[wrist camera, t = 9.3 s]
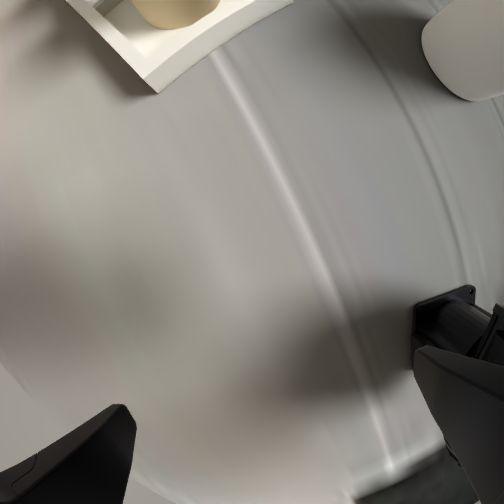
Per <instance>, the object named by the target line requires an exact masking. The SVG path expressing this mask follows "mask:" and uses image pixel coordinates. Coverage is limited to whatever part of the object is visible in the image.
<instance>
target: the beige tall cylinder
mask: <svg viewBox="0 0 504 504" xmlns="http://www.w3.org/2000/svg"><path fill="white" fill-rule="evenodd" d="M131 2H132V3H133V4H134V6H135V7H136V9H137V10H138V11H139V13H140V14H141V15H142V17H143V18H144V20H145V21H146V22H147V23H148V24H149V25H151V26H153V27H156V28H159V29H179V28H184V27H187V26H190V25H193V24H194V23H196V22H197V21H199V20H200V19H202V18H203V17H205V16H206V15H208V14H209V13H211V12H213V11H214V10H215V9H216V7H217V6H218V4H219V3H220V0H131Z"/></svg>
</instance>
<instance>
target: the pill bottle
mask: <svg viewBox="0 0 504 504" xmlns="http://www.w3.org/2000/svg"><path fill="white" fill-rule="evenodd" d="M421 42H422V48H423V52H424V55H425V57H426V59H427V61H428V63H429V65H430V67H431V69H432V70H433V72H434V73H435V75H436V76H437V77H438V78H439V80H440V81H441V82H442V83H443V84H444V85H445V86H446V87H447V88H448V89H449V90H450V91H452V92H453V93H454V94H456V95H457V96H459V97H461V98H463V99H466V100H469V101H483V100H487V99H490V98H493V97H496V96H499V95H503V94H504V0H452V1H451V2H450V3H449V4H448V5H447V6H446V7H444V8H443V9H442V10H441V11H440V12H439V13H438V14H436V15H435V16H434V17H433V18H432V19H431V20H430V21H429V22H428V23H427V24H426V25H425V27H424V29H423V31H422V37H421Z"/></svg>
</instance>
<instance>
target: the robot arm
mask: <svg viewBox="0 0 504 504" xmlns="http://www.w3.org/2000/svg"><path fill="white" fill-rule="evenodd" d="M470 290H471V291H470ZM475 293H476V289H475V287H474V286H472V285H468V286H465V287H463V288H460V289H458V290H455V291H452V292H450V293H447V294H444V295H442V296H439V297H436V298H433V299H431V300H428V301H425V302H422V303H419V304H417V305H416V306H415V307H414V309H413V332H412V334H411V360H412V370H413V371H414V377H415V380H416V382H417V384H418V386H419V388H420V390H421V392H422V394H423V397H424V399H425V401H426V403H427V405H428V408H429V410H430V412H431V414H432V416H433V417H434V419H435V421H436V423H437V424H438V426H439V428H440V429H441V431H442V433H443V436H444V440H445V444H446V447H447V449H448V452H449V454H450V456H451V457H453V458H454V459H455V460H456V461H457V462H458V465H459V466H460V467H462V468H463V469H464V471H465V473H466V475H467V477H468V479H469V481H470V482H471V484H472V486H473V488H474V490H475V492H476V494H477V496H478V498H479V500H480V502H481V504H504V306H502V305H499V304H497V303H496V304H495V306H494V309H493V311H494V312H493V314H490V313H488V312H487V311H485V310H483V309H482V308H480V307H479V306H477V305H475ZM419 309H421V311H420V312H418V311H419ZM136 430H137V426H136V422H135V420H134V419H133V417H132V415H131V414H130V412H129V410H128V408H127V407H126V406H125V405H124V404H112V405H111V406H109V407H108V408H106V409H105V410H103V411H102V412H100V413H99V414H97V415H96V416H94V417H93V418H91V419H90V420H88V421H87V422H85V423H84V424H82V425H81V426H79V427H77V428H76V429H74V430H73V431H71V432H70V433H68V434H67V435H65V436H63V437H62V438H60V439H59V440H57V441H56V442H54V443H52V444H51V445H49V446H47V447H46V448H44V449H43V450H41V451H39V452H38V454H37V453H36V454H34V455H33V456H31V457H29V458H28V459H26V460H24V461H22V462H21V463H19V464H17V465H15V466H13V467H11V468H9V469H6V470H4V471H2V472H0V504H123V500H124V496H125V491H126V487H127V482H128V478H129V474H130V470H131V465H132V459H133V451H134V444H135V437H136Z"/></svg>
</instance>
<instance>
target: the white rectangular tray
mask: <svg viewBox="0 0 504 504" xmlns="http://www.w3.org/2000/svg"><path fill="white" fill-rule="evenodd" d="M66 1H67V2H68V3H69V4H70V5H71V6H72V7H73V8H74V9H75V10H76V11H77V12H78V13H79V14H80V15H81V16H82V17H83V18H84V19H85V20H86V21H87V22H88V23H89V24H90V25H91V26H92V27H93V28H94V29H95V30H96V31H97V32H98V33H99V34H100V35H101V36H102V37H103V38H104V39H105V40H106V41H107V42H108V43H109V44H110V45H111V46H112V47H113V48H114V49H115V50H116V51H117V52H118V53H119V54H120V56H121V57H122V58H123V59H124V60H125V61H126V62H127V63H128V64H129V65H130V66H131V67H132V68H133V69H134V70H135V71H136V72H137V73H138V74H139V76H140V77H141V78H142V79H143V80H144V81H145V82H146V83H147V84H149V85H150V86H151V87H152V88H153V89H154V90H155V91H156V92H157V93H158V94H159V93H160V92H161V91H162V90H164V89H165V88H166V87H167V86H168V85H169V84H171V83H172V82H173V81H174V80H175V79H177V78H178V77H179V76H180V75H182V74H183V73H184V72H185V71H187V70H188V69H189V68H191V67H192V66H193V65H194V64H196V63H197V62H198V61H200V60H201V59H203V58H204V57H205V56H207V55H208V54H209V53H211V52H212V51H214V50H215V49H216V48H218V47H219V46H221V45H222V44H224V43H225V42H227V41H228V40H230V39H231V38H233V37H234V36H236V35H237V34H239V33H241V32H242V31H244V30H245V29H247V28H249V27H250V26H252V25H254V24H255V23H257V22H259V21H260V20H262V19H264V18H266V17H267V16H269V15H271V14H273V13H275V12H276V11H278V10H280V9H282V8H284V7H286V6H288V5H290V4H292V3H293V1H294V0H220V3H219V4H218V6H217V7H216V9H215V10H214V11H213V12H211V13H209V14H208V15H206V16H205V17H203V18H202V19H200V20H199V21H197V22H196V23H194V24H193V25H190V26H187V27H184V28H179V29H159V28H156V27H153V26H151V25H149V24H148V23H147V22H146V21H145V20H144V18H143V17H142V15H141V14H140V13H139V11H138V10H137V9H136V7H135V6H134V4H133V3H132V2H131V0H66Z"/></svg>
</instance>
